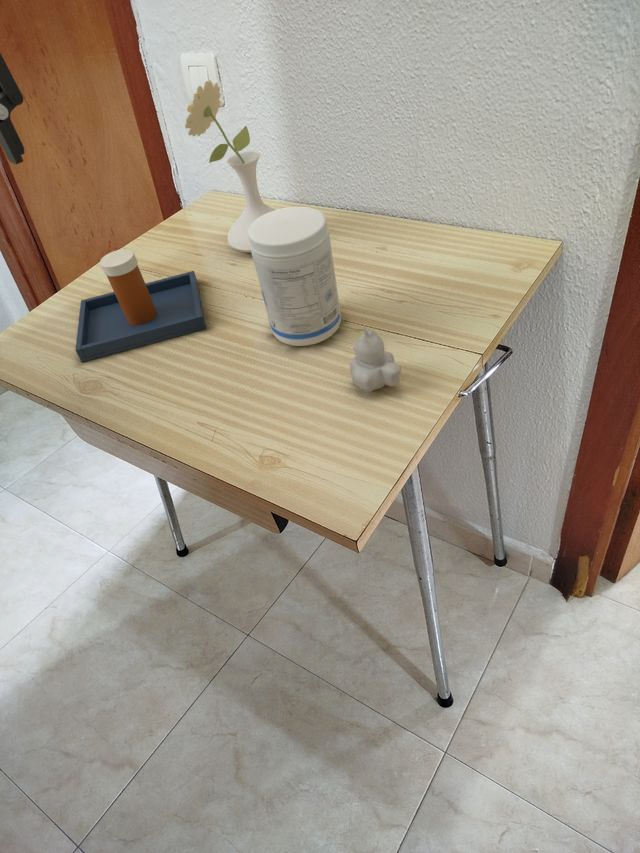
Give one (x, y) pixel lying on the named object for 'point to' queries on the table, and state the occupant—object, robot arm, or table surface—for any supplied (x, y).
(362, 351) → the grey figurine
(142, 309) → the pill bottle
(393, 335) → the table surface
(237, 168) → the flower in vase
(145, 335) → the tray
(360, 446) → the table surface
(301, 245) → the supplement tub
